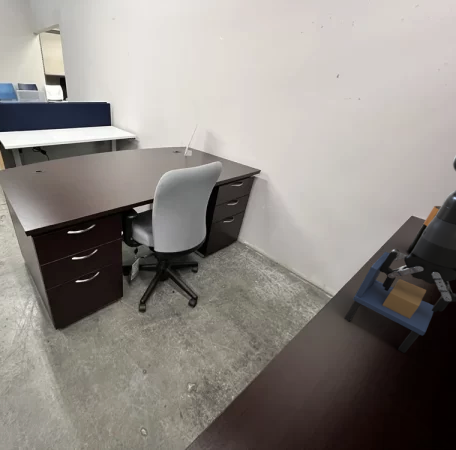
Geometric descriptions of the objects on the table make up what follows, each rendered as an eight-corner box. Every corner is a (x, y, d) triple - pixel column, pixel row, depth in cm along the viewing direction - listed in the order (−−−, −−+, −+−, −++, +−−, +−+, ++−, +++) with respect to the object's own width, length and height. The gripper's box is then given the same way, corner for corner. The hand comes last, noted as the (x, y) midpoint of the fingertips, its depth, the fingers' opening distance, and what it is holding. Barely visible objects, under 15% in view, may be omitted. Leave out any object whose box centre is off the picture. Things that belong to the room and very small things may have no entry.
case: (417, 302, 60) (426, 290, 58) (409, 318, 55) (419, 306, 53) (391, 290, 63) (399, 278, 61) (382, 305, 58) (390, 292, 56)
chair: (418, 328, 62) (458, 277, 54) (406, 355, 55) (450, 301, 47) (358, 298, 71) (385, 250, 64) (342, 318, 64) (370, 267, 57)
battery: (431, 256, 94) (462, 209, 85) (431, 263, 90) (464, 214, 81) (406, 248, 99) (434, 203, 90) (405, 254, 94) (434, 208, 85)
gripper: (503, 250, 47) (455, 310, 54) (406, 223, 57) (376, 277, 64) (502, 263, 43) (450, 326, 50) (398, 231, 53) (367, 288, 60)
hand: (409, 298), depth 57 cm, fingers open, 8 cm apart
